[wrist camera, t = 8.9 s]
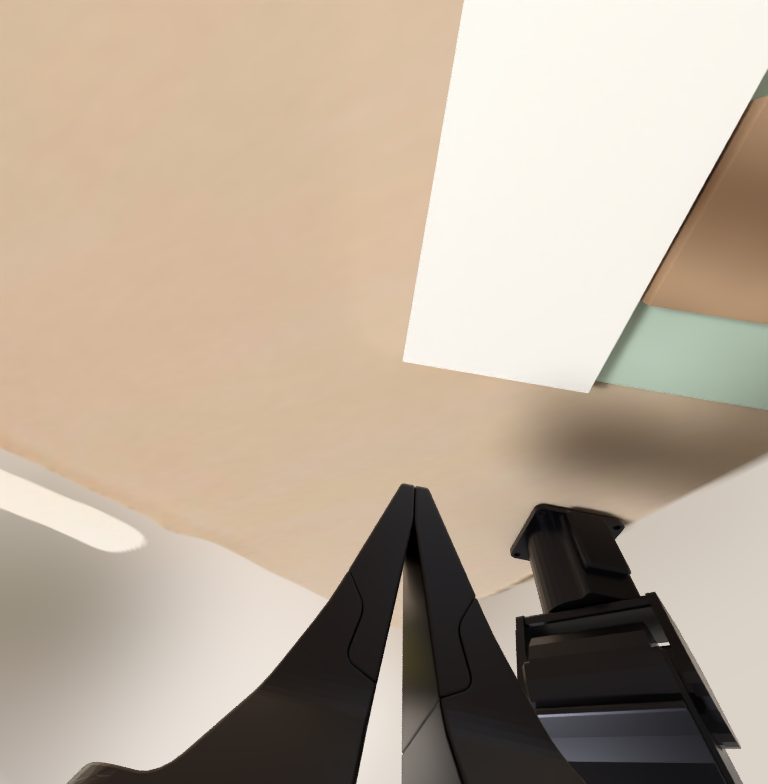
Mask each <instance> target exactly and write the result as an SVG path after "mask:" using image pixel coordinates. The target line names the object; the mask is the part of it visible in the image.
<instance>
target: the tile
mask: <svg viewBox="0 0 768 784" xmlns="http://www.w3.org/2000/svg"><path fill="white" fill-rule="evenodd" d="M640 301H642V302H644V303H646V304H648V305H650V306H655V307H662V308H668V309H674V310H681V311H687V312H693V313H699V314H706V315H712V316H718V317H725V318H731V319H737V320H744V321H750V322H756V323H762V324H768V96H765V97H761V98H758V99H755V100H751V101H750V102H749V103H748V105H747V107H746V109H745V111H744V112H743V114H742V116H741V118H740V120H739V121H738V123H737V125H736V127H735V129H734V131H733V132H732V134H731V136H730V138H729V140H728V141H727V143H726V145H725V147H724V149H723V150H722V152H721V154H720V156H719V158H718V159H717V161H716V163H715V165H714V167H713V168H712V170H711V172H710V174H709V176H708V178H707V179H706V181H705V183H704V185H703V187H702V188H701V190H700V192H699V194H698V196H697V197H696V199H695V201H694V203H693V205H692V206H691V208H690V210H689V212H688V214H687V216H686V217H685V219H684V221H683V223H682V225H681V226H680V228H679V230H678V232H677V234H676V235H675V237H674V239H673V241H672V243H671V244H670V246H669V248H668V250H667V252H666V253H665V255H664V257H663V259H662V261H661V263H660V264H659V266H658V268H657V270H656V272H655V273H654V275H653V277H652V279H651V281H650V282H649V284H648V286H647V288H646V290H645V291H644V293H643V295H642V297H641V299H640Z"/></svg>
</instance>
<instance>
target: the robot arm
mask: <svg viewBox="0 0 768 784" xmlns="http://www.w3.org/2000/svg"><path fill="white" fill-rule="evenodd" d="M624 528H625V527H624V525H623V523H622V521H621V520H619V519H615V518H610V517H605V516H600V515H594V514H589V513H584V512H579V511H573V510H568V509H563V508H558V507H552V506H547V505H537V506H535V507H534V509H533V511H532V512H531V514H530V516H529V518H528V519H527V521H526V523H525V525H524V526H523V528H522V530H521V531H520V533H519V535H518V537H517V538H516V540H515V542H514V544H513V545H512V547H511V549H510V553H511V556H512V557H514V558H518V559H523V560H528V561H530V564H531V568H532V571H533V575H534V579H535V583H536V587H537V591H538V595H539V599H540V603H541V607H542V611H543V614H540V615H534V616H529V617H524V616H520V617H516V652H517V654H516V655H517V678H516V676H515V674H514V672H513V670H512V669H511V667H510V665H509V663H508V662H507V660H506V658H505V656H504V654H503V652H502V650H501V648H500V646H499V645H498V643H497V641H496V639H495V637H494V635H493V633H492V631H491V629H490V626H489V624H488V622H487V620H486V618H485V616H484V614H483V611H482V609H481V607H480V604H479V602H478V600H477V599H476V598H475V593H474V591H473V589H472V587H471V584H470V582H469V580H468V577H467V575H466V573H465V571H464V568H463V566H462V564H461V561H460V559H459V557H458V555H457V552H456V550H455V548H454V546H453V543H452V541H451V539H450V536H449V534H448V532H447V530H446V527H445V525H444V523H443V520H442V518H441V516H440V514H439V511H438V509H437V507H436V505H435V502H434V500H433V498H432V495H431V493H430V491H429V489H428V488H424V487H419V486H416V487H414V486H413V485H409V484H401V485H400V487H399V489H398V490H397V492H396V493H395V495H394V497H393V498H392V500H391V502H390V503H389V505H388V507H387V508H386V510H385V511H384V513H383V515H382V516H381V518H380V520H379V521H378V523H377V524H376V526H375V528H374V529H373V531H372V533H371V534H370V536H369V538H368V539H367V541H366V542H365V544H364V546H363V547H362V549H361V551H360V552H359V554H358V556H357V557H356V559H355V560H354V562H353V564H352V565H351V567H350V569H349V572H347V573H346V575H345V576H344V578H343V580H342V581H341V583H340V584H339V586H338V587H337V589H336V591H335V592H334V594H333V595H332V597H331V598H330V600H329V601H328V602H327V604H326V605H325V606H324V608H323V609H322V610H321V612H320V613H319V614H318V616H317V617H316V618H315V620H314V621H313V622H312V623H311V625H310V626H309V628H307V630H306V631H305V632H304V634H303V635H302V636H301V637H300V638H299V640H298V641H297V642H296V643H295V645H294V646H293V647H292V649H291V650H290V651H289V652H288V653H287V655H286V656H285V657H284V659H283V660H282V661H281V662H280V663H279V665H278V666H277V667H276V668H275V669H274V671H273V672H272V673H271V674H270V675H269V676H268V677H267V678H266V679H265V680H264V682H263V683H262V684H261V685H260V686H259V687H258V688H257V689H256V690H255V691H254V692H253V693H251V694H250V695H249V696H248V697H247V698H246V699H244V700H243V701H242V702H241V703H240V704H239V705H238V706H236V707H235V708H234V709H233V710H232V711H231V712H229V713H228V714H227V715H226V716H225V717H224V718H223V719H221V720H220V721H219V722H218V723H217V724H216V725H215V726H213V728H212V729H210V730H209V731H208V732H207V733H205V734H204V735H203V736H202V737H201V738H200V739H198V740H197V741H196V742H195V743H194V744H193V745H192V746H191V747H189V748H188V749H187V750H186V751H185V752H184V753H183V754H181V755H180V756H178V757H177V758H176V759H174V760H173V761H172V762H170V763H168V764H166V765H164V766H162V767H160V768H156V769H153V770H149V771H139V770H134V769H130V768H126V767H122V766H118V765H114V764H108V763H101V762H92V763H89V764H87V765H85V766H84V767H83V768H82V769H81V770H80V771H79V772H78V773H77V774H76V775H75V776H74V777H73V778H72V779H71V780H70V781H69V782H68V783H67V784H356V782H357V777H358V772H359V766H360V761H361V757H362V752H363V747H364V742H365V737H366V731H367V726H368V722H369V717H370V712H371V707H372V703H373V699H374V694H375V689H376V684H377V681H378V676H379V672H380V667H381V663H382V658H383V654H384V650H385V645H386V640H387V636H388V632H389V628H390V623H391V619H392V614H393V610H394V606H395V601H396V597H397V592H398V588H399V583H400V579H401V575H402V570H403V680H402V682H403V684H402V753H403V755H402V784H743V783H742V781H741V779H740V777H739V775H738V773H737V771H736V769H735V767H734V766H733V764H732V762H731V760H730V758H729V756H728V754H727V752H726V750H725V749H741V747H740V745H739V742H738V740H737V738H736V737H735V735H734V733H733V731H732V729H731V727H730V725H729V723H728V721H727V719H726V717H725V715H724V713H723V711H722V709H721V707H720V705H719V703H718V702H717V700H716V698H715V696H714V694H713V692H712V690H711V688H710V686H709V684H708V682H707V680H706V678H705V677H704V675H703V672H702V671H701V669H700V667H699V665H698V663H697V662H696V660H695V658H694V656H693V655H692V653H691V651H690V649H689V647H688V646H687V644H686V642H685V640H684V639H683V637H682V635H681V633H680V631H679V630H678V628H677V626H676V625H675V623H674V622H673V620H672V618H671V617H670V615H669V614H668V612H667V610H666V609H665V607H664V606H663V604H662V602H661V601H660V599H659V598H658V596H657V594H656V593H655V592H651V593H646V594H645V596H640V595H639V592H638V591H637V589H636V587H635V585H634V583H633V581H632V579H631V577H630V574H631V571H630V568H629V566H628V565H627V563H626V561H625V559H624V557H623V555H622V553H621V551H620V549H619V547H618V545H617V543H616V541H615V539H616V538H617V536H618V535H619V534H620V533H621V532H622V531H623V529H624ZM664 642H669V643H670V645H668V646H658V644H657V643H664Z"/></svg>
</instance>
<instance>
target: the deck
mask: <svg viewBox="0 0 768 784" xmlns="http://www.w3.org/2000/svg"><path fill="white" fill-rule="evenodd" d="M767 69H768V0H464V5H463V10H462V16H461V22H460V28H459V34H458V40H457V46H456V51H455V57H454V63H453V69H452V75H451V81H450V87H449V92H448V98H447V104H446V110H445V116H444V122H443V128H442V133H441V139H440V145H439V151H438V157H437V163H436V169H435V174H434V180H433V186H432V192H431V198H430V204H429V210H428V215H427V221H426V227H425V233H424V239H423V245H422V251H421V256H420V262H419V268H418V274H417V280H416V286H415V292H414V297H413V303H412V309H411V315H410V321H409V327H408V333H407V338H406V344H405V350H404V356H403V362H409V363H415V364H420V365H426V366H432V367H438V368H444V369H449V370H455V371H461V372H467V373H473V374H478V375H484V376H490V377H496V378H502V379H508V380H513V381H519V382H525V383H531V384H537V385H542V386H548V387H554V388H560V389H566V390H571V391H577V392H583V393H589V391H590V389H591V387H592V385H593V384H594V382H595V380H596V378H597V376H598V375H599V373H600V371H601V369H602V367H603V366H604V364H605V362H606V360H607V358H608V357H609V355H610V353H611V351H612V349H613V348H614V346H615V344H616V342H617V340H618V338H619V337H620V335H621V333H622V331H623V329H624V328H625V326H626V324H627V322H628V320H629V319H630V317H631V315H632V313H633V311H634V310H635V308H636V306H637V304H638V302H639V300H640V299H641V297H642V295H643V293H644V291H645V290H646V288H647V286H648V284H649V282H650V281H651V279H652V277H653V275H654V273H655V272H656V270H657V268H658V266H659V264H660V263H661V261H662V259H663V257H664V255H665V253H666V252H667V250H668V248H669V246H670V244H671V243H672V241H673V239H674V237H675V235H676V234H677V232H678V230H679V228H680V226H681V225H682V223H683V221H684V219H685V217H686V216H687V214H688V212H689V210H690V208H691V206H692V205H693V203H694V201H695V199H696V197H697V196H698V194H699V192H700V190H701V188H702V187H703V185H704V183H705V181H706V179H707V178H708V176H709V174H710V172H711V170H712V168H713V167H714V165H715V163H716V161H717V159H718V158H719V156H720V154H721V152H722V150H723V149H724V147H725V145H726V143H727V141H728V140H729V138H730V136H731V134H732V132H733V131H734V129H735V127H736V125H737V123H738V121H739V120H740V118H741V116H742V114H743V112H744V111H745V109H746V107H747V105H748V103H749V102H750V100H751V98H752V96H753V94H754V93H755V91H756V89H757V87H758V85H759V83H760V82H761V80H762V78H763V76H764V74H765V73H766V71H767Z"/></svg>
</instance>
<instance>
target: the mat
mask: <svg viewBox="0 0 768 784" xmlns="http://www.w3.org/2000/svg"><path fill="white" fill-rule="evenodd" d="M765 96H768V69H767V71H766V73H765V74H764V76H763V78H762V80H761V82H760V83H759V85H758V87H757V89H756V91H755V93H754V94H753V96H752V98H751V100H755V99H758V98H761V97H765ZM751 100H750V101H751ZM595 381H598V382H604V383H610V384H615V385H621V386H627V387H633V388H639V389H645V390H651V391H657V392H663V393H668V394H674V395H680V396H686V397H692V398H698V399H704V400H710V401H715V402H721V403H727V404H733V405H739V406H745V407H751V408H757V409H763V410H768V324H762V323H756V322H750V321H744V320H737V319H731V318H725V317H718V316H712V315H706V314H699V313H693V312H687V311H681V310H674V309H668V308H662V307H655V306H650V305H648V304H646V303H644V302H642V301H640V300H639V302H638V304H637V306H636V308H635V310H634V311H633V313H632V315H631V317H630V319H629V320H628V322H627V324H626V326H625V328H624V329H623V331H622V333H621V335H620V337H619V338H618V340H617V342H616V344H615V346H614V348H613V349H612V351H611V353H610V355H609V357H608V358H607V360H606V362H605V364H604V366H603V367H602V369H601V371H600V373H599V375H598V376H597V378H596V380H595Z"/></svg>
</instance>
